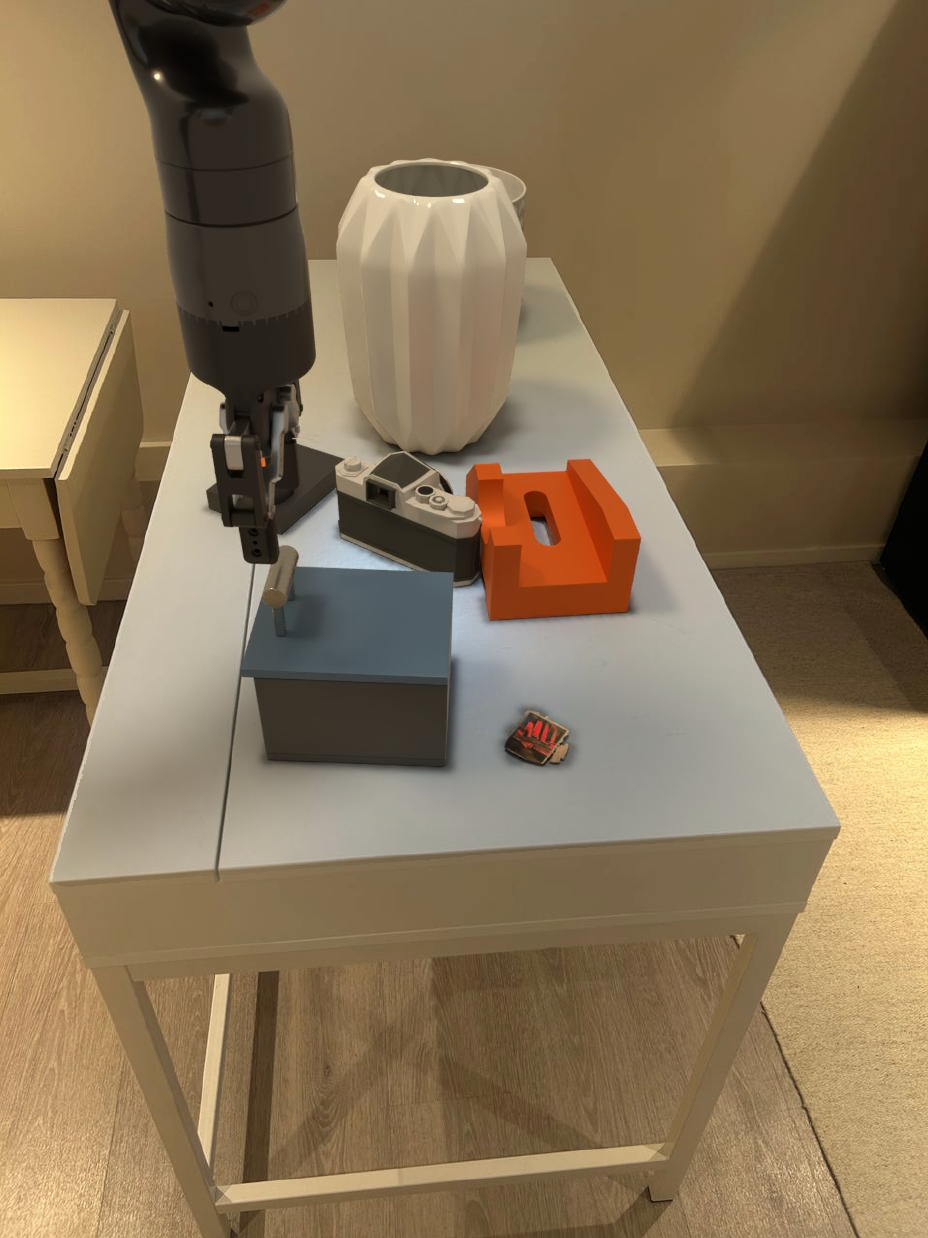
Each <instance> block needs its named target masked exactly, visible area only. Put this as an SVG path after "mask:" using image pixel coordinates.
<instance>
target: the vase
mask: <svg viewBox="0 0 928 1238" xmlns="http://www.w3.org/2000/svg"><path fill="white" fill-rule="evenodd" d="M469 164H470V163H468V162H466V161H464V160H443V159H438V158H434V157H433V158H432V157H426V158H421V159H420V158H419V159H416V160H410V159H407V160H406V159H397V160H394V161H392V162H391V163H389V164H385V165H377V166H376V165H375V166H373V167H371V168H370V169H369V170H368V172H367V173H366V175H365V176H362V177H361V178H360V179H359V181H358V183H357V185H356V186H355V189H354V191H353V192H352V194H351V197H350V199H349V201H348V203H347V204H346V206H345V209H344V211H343V214H342V216H341V218H340V220H339V223H338V226H337V235H338V237H337V240H336V243H335V249H336V250H335V251H336V252H335V253H336V263H337V264H336V265H337V275H338V277H337V278H338V289H339V295H340V296H339V297H340V303H341V311H342V320H343V328H344V335H345V337H344V338H345V344H346V345H345V346H346V353H347V358H348V359H347V360H348V367H349V373H350V379H351V386H352V392H353V397H354V400H355V402H356V403H357V405H358V406H359V408H360V409H361V410H362V412H363V413H364V415H365V416H366V418H367V419H368V420H369V422H370V423H371V425H372V426H373V427H374V429H375V430H376V432H377V433H378V435H379V436H380V438H381V439H383V441H384V442H385V443H387V444H390V445H395V446H398V447H399V448H400V449H401V450H402V451H407V452H408V453H423V454H425V455H427V456H437V455H439V454H441V453H445V452H446V453H447V452H448V453H457V452H460V451H461V450H462V449H463V448H464V447H465V446H466V445H470V444H473V443H476V442H478V441H479V439H480V438H481V437H482V436H483V434H484V433H485V431H486V430H487V428H488V427H489V425H490V424H491V422H493V420H494V418H495V417H496V415H497V414H498V412H500V409H502V407H503V405H505V402H506V401H507V399H508V396H509V390H510V384H511V379H512V378H511V377H512V372H513V367H514V361H515V355H516V345H517V339H518V332H519V331H518V330H519V326H520V325H519V324H520V317H521V308H522V303H523V294H524V287H525V286H524V285H525V278H526V277H525V275H526V265H527V256H528V255H527V254H528V244H527V240H526V237H525V235H524V232H522V229H521V228H522V227H521V224H520V221H519V219H518V216H517V214H516V211H515V209H514V206H513V204H512V202H511V199H510V197H509V195H508V192H507V190H506V188H505V186H504V184H503V182H502V180H501V179H499V178H497V177H495V176H493V174H492V173H491V171H490V170H489V169H487V168H483V167H476V166H471V165H469Z"/></svg>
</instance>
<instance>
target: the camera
mask: <svg viewBox="0 0 928 1238" xmlns="http://www.w3.org/2000/svg"><path fill="white" fill-rule="evenodd" d="M344 459H345V460H343V461H342V462H340V463H339V464H338V465H336V466H335V469H336V481H335V486H336V487H335V491H336V492H335V493H336V496H337V511H338V520H337V524H338V530H339V533H340V538H341V539H344V540H346V541H348V542H350V543H353V544H355V545H358V546H359V547H363V548H365V549H366V550H369V551H372V552H373V553H376V554H379V555H381V556H383V557H385V558H388V559H390V560H392V561H395V562H397V563H398V564H402V565H403V566H405V567H408V568H410V569H413V570H414V571H424V572H450V573H454V579H453V588H454V587H455V588H457V587H464V586H470V585H472V583H474V581H475V580H476V579H478V578H479V576H480V570H481V563H480V540H481V527H482V522H483V519H482V518H481V511H480V509H479V507H478V505H477V504H475V502H474V501H473V500H472V499H470V498H469V497H465V496H464V495H454V489H453V487H452V485H451V483H450V481H449V480H448V478H447V477H446V476H445V475H444V473H442V472H441V471H440V470H439V469H437V468H435V467H434V466H432V465H429V464H427V463H425V461H423V460H421V459H420V458H418V457H416V456H414V455H413V454H411V452H407V451H403V450H402V451H395V452H389V453H388V454H387V455H386V456H384V457H383V458H382V459H381V460H380V461H378V462H377V463H376V464H374V463H371V462H369V461H367V460H365V459H364V460H363V459H361V458H360V457H358V458H357V456H349V457H346V458H344Z"/></svg>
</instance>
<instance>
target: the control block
mask: <svg viewBox="0 0 928 1238" xmlns="http://www.w3.org/2000/svg"><path fill="white" fill-rule="evenodd" d="M297 450H298V459H299V469H300V478H301V479H300V483H299V486H298V488H296V489H275V498H274V505H275V509H276V510H275V520H276V528H277V534H279V535H283V534H284V533H285V532H286V531H287V530H288V529H290V527H292V526H293V525H294V524H295V523H296V522H297V521H299V520H300V519H301V518H303V516H304V515H305V514H307V513H308V512H309V511H310V510H311V509H312V508H314V507H315V506H316V505H317V504H318V503H320V501H321V500H322V499H324V498H325V497H326V496H327V495H328V494H329V493H330V492H332V491H333V490H334V489H336V486H335V481H336V469H335V466H336V465H338V464H339V463H340V462H342V461H343V460H345V459H346V458H344V457H340V456H338V455H334V454H331V453H328V452H325V451H322V450H319V449H315V448H312V447H310V446H306V445H303V444H300V443H297ZM205 494H206V499H207V504H208V505H207V506H208V508H209V510H212V511H215V512H218V513H221V508H220V502H219V495H218V489H217V483H216V482H215V483H213V484H212V485H211V486H210V487H208V488H207V489H206V490H205ZM243 498H246V499H252V497H251V496H248V495H243Z"/></svg>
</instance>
